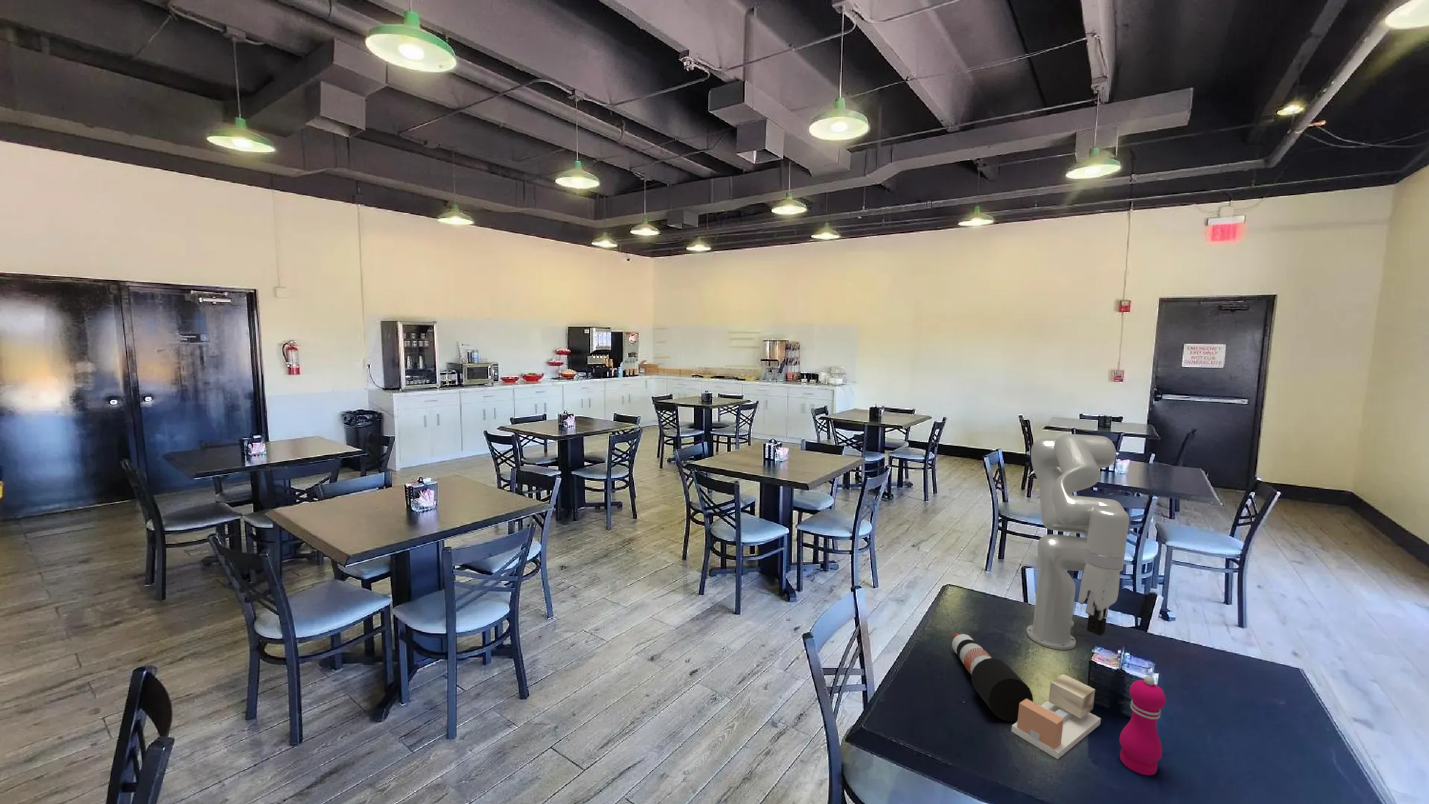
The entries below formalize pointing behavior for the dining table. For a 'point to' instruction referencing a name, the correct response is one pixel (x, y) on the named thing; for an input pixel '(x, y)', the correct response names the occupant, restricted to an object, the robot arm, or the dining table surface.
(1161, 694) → the pepper mill
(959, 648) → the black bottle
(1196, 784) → the dining table surface
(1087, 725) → the rail base
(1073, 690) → the block
